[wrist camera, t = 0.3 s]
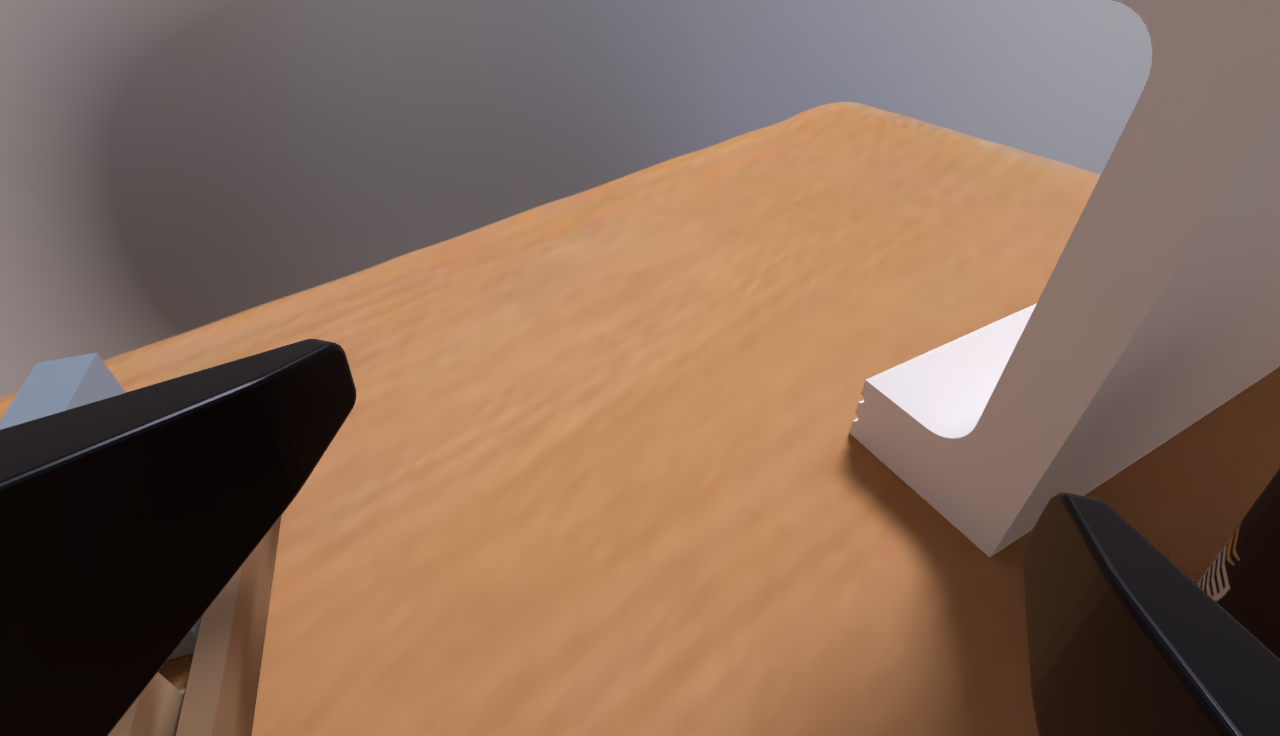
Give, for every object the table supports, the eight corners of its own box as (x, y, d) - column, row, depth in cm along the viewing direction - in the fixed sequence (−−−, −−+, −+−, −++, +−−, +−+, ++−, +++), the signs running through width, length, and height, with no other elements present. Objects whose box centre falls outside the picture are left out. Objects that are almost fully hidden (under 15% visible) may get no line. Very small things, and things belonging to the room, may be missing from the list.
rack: (226, 913, 17) (183, 893, 15) (-9, 999, 16) (-84, 987, 14) (283, 501, 28) (260, 463, 26) (144, 533, 26) (111, 496, 25)
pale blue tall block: (209, 648, 23) (34, 468, 16) (159, 662, 22) (-40, 483, 16) (231, 536, 26) (96, 352, 20) (189, 547, 26) (37, 363, 19)
